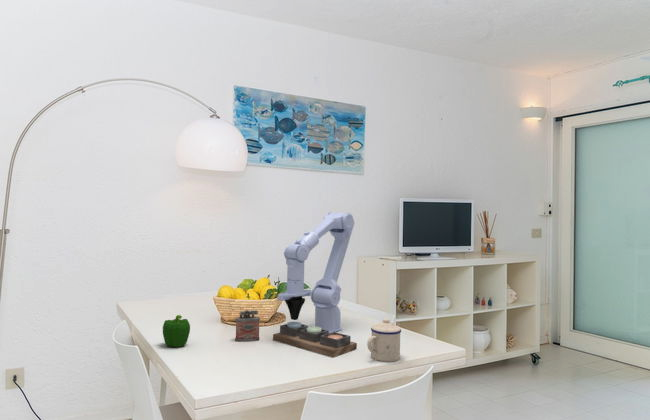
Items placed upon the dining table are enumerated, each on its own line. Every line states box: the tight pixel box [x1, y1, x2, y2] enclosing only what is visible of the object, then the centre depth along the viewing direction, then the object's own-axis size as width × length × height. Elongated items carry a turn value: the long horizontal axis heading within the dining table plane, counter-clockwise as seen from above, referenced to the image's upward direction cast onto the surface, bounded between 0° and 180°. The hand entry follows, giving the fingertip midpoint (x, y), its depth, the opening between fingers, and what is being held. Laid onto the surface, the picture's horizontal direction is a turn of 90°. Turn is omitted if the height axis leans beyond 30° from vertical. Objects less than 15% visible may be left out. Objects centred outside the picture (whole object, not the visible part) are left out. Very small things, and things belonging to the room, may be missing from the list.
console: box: [272, 323, 358, 358], centre depth 156 cm, size 12×26×5 cm, turn 50°
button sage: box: [307, 325, 321, 334], centre depth 156 cm, size 5×5×2 cm
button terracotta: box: [328, 335, 343, 339], centre depth 150 cm, size 5×5×2 cm
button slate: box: [286, 321, 302, 329], centre depth 162 cm, size 5×5×2 cm
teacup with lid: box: [366, 318, 402, 363], centre depth 144 cm, size 12×9×12 cm
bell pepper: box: [162, 314, 191, 348], centre depth 151 cm, size 8×8×10 cm
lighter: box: [234, 309, 261, 343], centre depth 159 cm, size 8×3×10 cm, turn 105°
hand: (294, 319), depth 162 cm, fingers closed
